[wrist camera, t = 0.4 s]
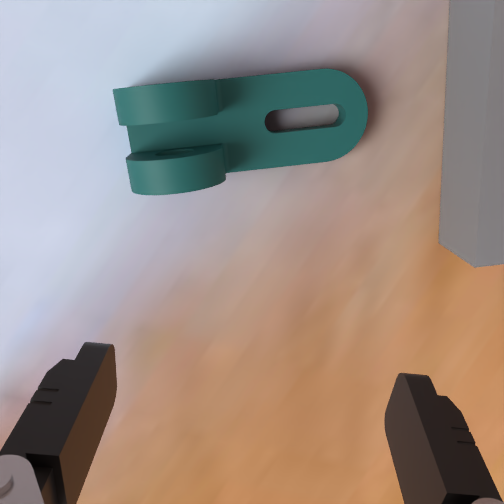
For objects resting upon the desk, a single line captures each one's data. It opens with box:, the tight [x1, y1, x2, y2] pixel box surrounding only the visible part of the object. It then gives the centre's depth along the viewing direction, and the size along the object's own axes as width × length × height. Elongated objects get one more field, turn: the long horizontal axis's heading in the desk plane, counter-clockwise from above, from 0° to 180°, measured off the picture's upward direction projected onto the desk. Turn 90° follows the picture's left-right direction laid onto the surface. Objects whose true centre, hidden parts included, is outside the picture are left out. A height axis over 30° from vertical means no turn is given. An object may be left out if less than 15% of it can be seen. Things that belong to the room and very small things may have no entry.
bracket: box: [113, 69, 368, 195], centre depth 33 cm, size 18×7×8 cm, turn 96°
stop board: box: [439, 0, 504, 267], centre depth 34 cm, size 24×3×6 cm, turn 6°
